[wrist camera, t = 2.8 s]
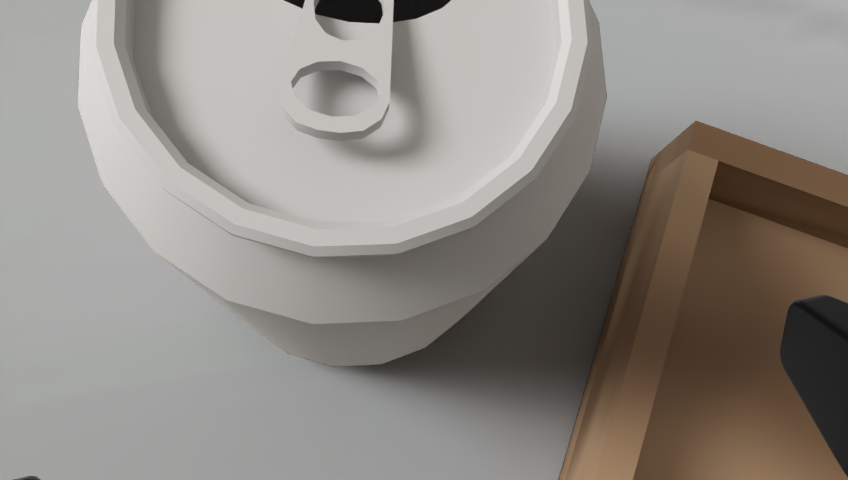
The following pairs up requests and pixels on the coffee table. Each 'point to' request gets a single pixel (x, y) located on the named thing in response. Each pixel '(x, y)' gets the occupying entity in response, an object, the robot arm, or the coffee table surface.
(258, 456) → the coffee table surface
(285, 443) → the coffee table surface
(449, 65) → the can
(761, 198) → the tray
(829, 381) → the robot arm
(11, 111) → the coffee table surface
